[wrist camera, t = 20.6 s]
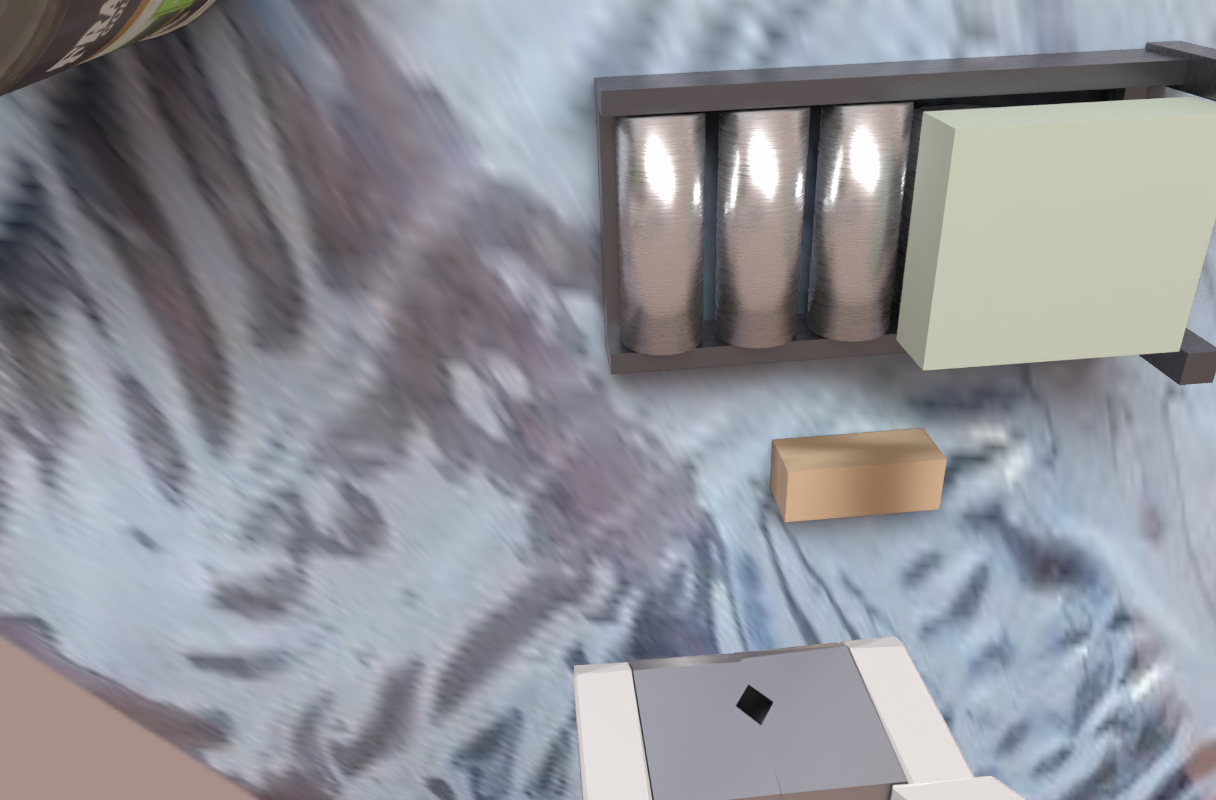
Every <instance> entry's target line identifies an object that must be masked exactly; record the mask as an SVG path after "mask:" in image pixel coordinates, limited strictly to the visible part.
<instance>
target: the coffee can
mask: <svg viewBox="0 0 1216 800" xmlns="http://www.w3.org/2000/svg"><path fill="white" fill-rule="evenodd" d="M215 1H216V0H0V96H2V95H4V94H7V93H10V92H13V91H15V90H17V89H20V88H23V87H25V86H28V85H30V84H32V83H34V82H37V81H40V80H42V79H45V78H48V77H50V76H52V75H55V74H57V73H59V72H62V71H64V70H66V69H69V68H71V67H74V66H76V65H79V64H81V63H84V62H87V61H89V60H92V59H94V58H97V57H99V56H102V55H105V54H108V53H111V52H113V51H115V50H118V49H120V48H123V47H125V46H128V45H130V44H133V43H135V42H138V41H142V40H147V39H151V38H155V37H158V36H161V35H164V34H167V33H169V32H171V31H174V30H176V29H178V28H180V27H182V26H185V25H187V24H188V23H190V22H191V21H193V20H194V19H196V18H197V17H198V16H200V15H201V14H202V13H203V12H204V11H205V10H207V9H208V8H209V7H210V6H211V5H212V4H213V3H214V2H215Z"/></svg>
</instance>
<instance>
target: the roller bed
mask: <svg viewBox="0 0 1216 800" xmlns="http://www.w3.org/2000/svg"><path fill="white" fill-rule="evenodd" d="M1151 86H1166V87H1170V88H1173V89H1176V90H1180V91H1183V92H1186V93H1190V94H1193V95H1196V96H1200V97H1203V98H1206V99H1210V100H1213V101H1216V49H1213V48H1209V47H1204V46H1200V45H1195V44H1191V43H1187V42H1182V41H1171V42H1152V43H1147V46H1146V49H1132V50H1113V51H1094V52H1075V53H1056V54H1037V55H1018V56H999V57H980V58H961V59H942V60H923V61H904V62H885V63H866V64H847V65H828V66H809V67H790V68H771V69H752V70H733V71H714V72H695V73H676V74H657V75H638V76H619V77H600V78H595V97H596V123H597V148H598V173H599V198H600V223H601V249H602V274H603V299H604V324H605V347H606V352H607V356H608V361H609V366H610V370H611V374H621V373H635V372H648V371H662V370H676V369H689V368H703V367H717V366H731V365H744V364H758V363H772V362H785V361H799V360H813V359H826V358H840V357H854V356H867V355H881V354H895V353H907V352H906V351H905V349H904V348H903V347H902V346H901V345H900V344H899V342H898V341H897V340H896V338H897V329H898V321H899V312H900V310H899V309H898V308H896V307H893V308H891V304H892V295H893V286H894V277H895V269H896V260H897V251H898V242H899V233H900V224H901V216H902V207H903V198H904V189H905V180H906V172H907V163H908V154H909V145H910V136H911V127H912V119H913V110H914V101H915V100H916V99H934V98H953V97H971V96H989V95H1007V94H1025V93H1043V92H1061V91H1079V90H1097V89H1105V93H1104V98H1103V101H1120V100H1138V99H1146V94H1147V90H1148V87H1151ZM811 105H821V119H820V134H819V148H818V163H817V177H816V192H815V206H814V221H813V235H812V250H811V264H810V279H809V293H808V308H807V314H797V313H798V297H799V281H800V266H801V250H802V234H803V219H804V203H805V187H806V171H807V156H808V140H809V124H810V109H811ZM718 110H719V141H718V192H717V243H716V294H715V320H707V321H703V277H704V202H705V126H706V111H718ZM1139 355H1140V356H1141V357H1142V358H1144V359H1145V360H1146V361H1148V362H1149V363H1150V364H1152V365H1153V366H1154V367H1156V368H1157V369H1159V370H1160V371H1161V372H1163V373H1164V374H1165V375H1167V376H1168V377H1169V378H1171V379H1172V380H1173V381H1175V382H1176V383H1177V384H1179V385H1186V384H1199V383H1212V382H1213V379H1214V376H1215V372H1216V347H1215V346H1213V345H1212V344H1210V343H1208V342H1207V341H1205V340H1204V339H1202V338H1201V337H1199V336H1198V335H1196V334H1195V333H1193V332H1192V331H1190V330H1188V329H1187V328H1186V329H1185V332H1184V336H1183V340H1182V343H1181V347H1180V351H1179V352H1166V353H1153V354H1139Z"/></svg>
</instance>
